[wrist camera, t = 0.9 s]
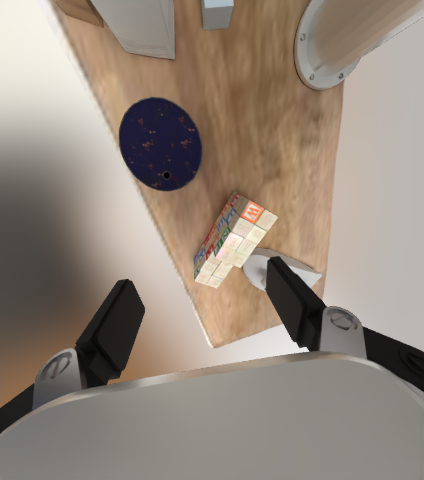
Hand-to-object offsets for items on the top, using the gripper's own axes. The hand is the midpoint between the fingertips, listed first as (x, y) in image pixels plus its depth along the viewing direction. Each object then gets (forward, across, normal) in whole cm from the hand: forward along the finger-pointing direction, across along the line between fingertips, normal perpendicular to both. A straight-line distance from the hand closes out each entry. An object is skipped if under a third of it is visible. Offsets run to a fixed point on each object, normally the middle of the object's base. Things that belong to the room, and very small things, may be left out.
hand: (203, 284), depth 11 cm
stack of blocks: (+29, -5, +10) cm, 31 cm away
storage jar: (+29, +3, -9) cm, 30 cm away
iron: (+29, -20, +25) cm, 43 cm away
